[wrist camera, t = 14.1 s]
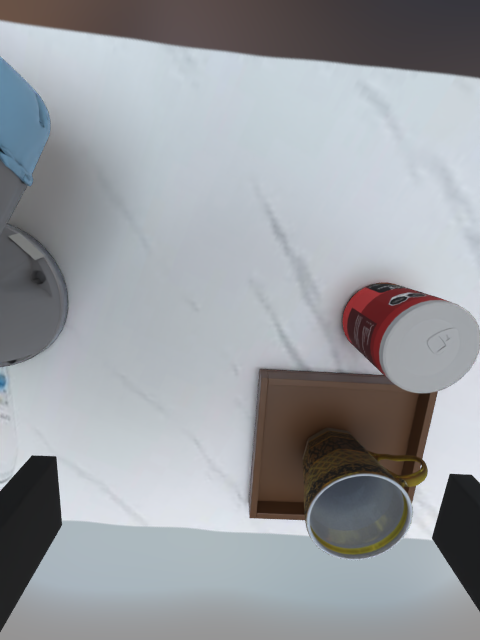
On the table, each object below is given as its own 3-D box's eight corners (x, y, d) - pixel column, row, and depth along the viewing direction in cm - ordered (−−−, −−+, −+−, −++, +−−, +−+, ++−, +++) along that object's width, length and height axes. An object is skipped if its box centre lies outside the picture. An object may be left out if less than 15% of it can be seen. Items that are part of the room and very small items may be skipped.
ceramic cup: (315, 498, 42) (339, 576, 33) (273, 441, 40) (285, 507, 30) (406, 447, 41) (460, 515, 31) (368, 386, 38) (412, 437, 29)
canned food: (425, 306, 37) (502, 336, 26) (378, 362, 38) (433, 411, 28) (372, 266, 35) (431, 280, 25) (326, 326, 37) (362, 363, 26)
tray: (248, 502, 43) (249, 518, 40) (259, 368, 38) (261, 378, 36) (397, 508, 43) (407, 524, 41) (426, 377, 39) (439, 387, 36)
